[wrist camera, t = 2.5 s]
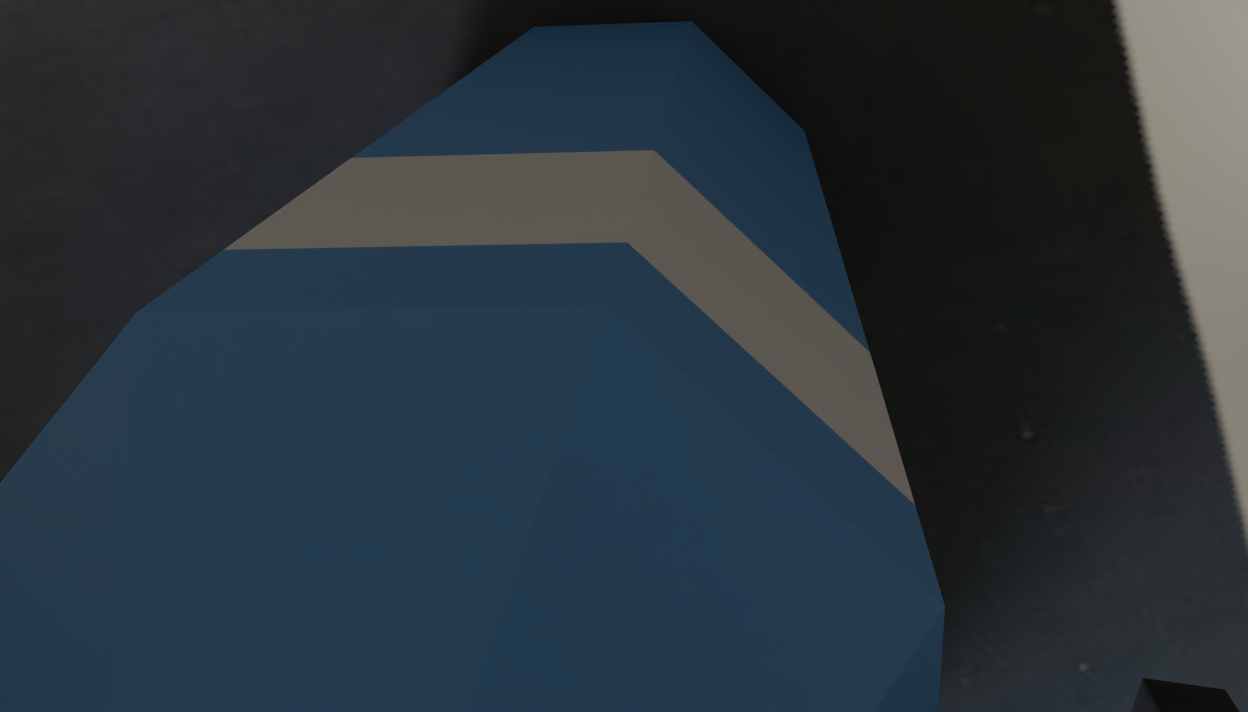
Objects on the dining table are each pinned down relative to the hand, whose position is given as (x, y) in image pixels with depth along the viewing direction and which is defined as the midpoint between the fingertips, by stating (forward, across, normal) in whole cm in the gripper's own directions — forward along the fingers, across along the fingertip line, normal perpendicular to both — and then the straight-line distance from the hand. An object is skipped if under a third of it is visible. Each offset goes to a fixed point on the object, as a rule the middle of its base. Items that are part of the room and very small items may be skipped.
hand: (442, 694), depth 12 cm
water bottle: (+18, 0, 0) cm, 18 cm away
